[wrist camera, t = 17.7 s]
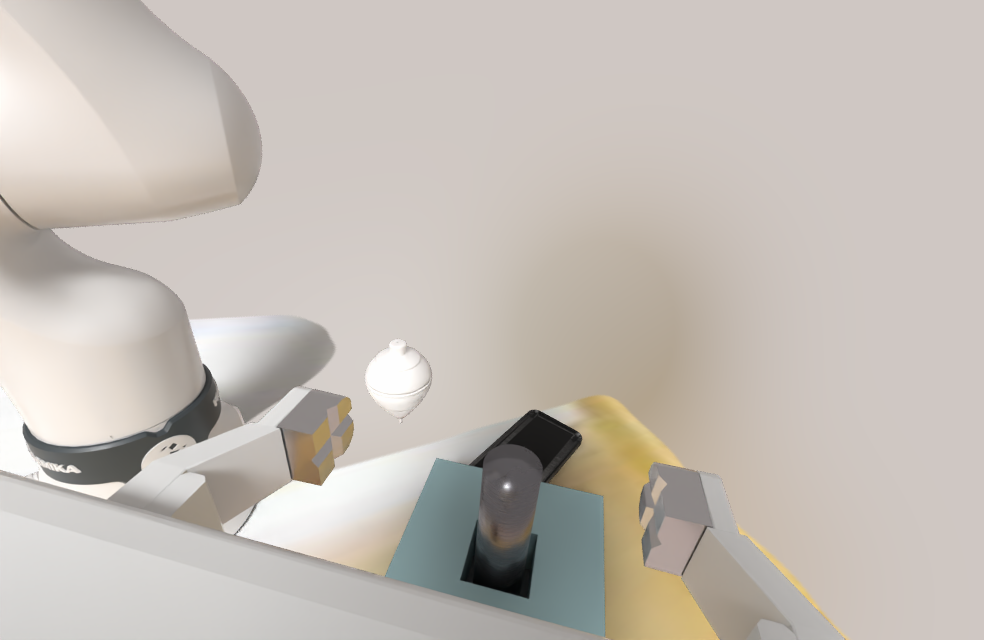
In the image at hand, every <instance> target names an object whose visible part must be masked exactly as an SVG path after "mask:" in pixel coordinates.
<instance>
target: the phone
mask: <svg viewBox="0 0 984 640" xmlns="http://www.w3.org/2000/svg"><path fill="white" fill-rule="evenodd" d="M581 441H582V436H581V434H580V433H579V432H577V431H576V430H574V429H572V428H570V427H568V426H567V425H565V424H563V423H561V422H559V421H557V420H556V419H554V418H552V417H550V416H548V415H546V414H545V413H543V412H541V411H539V410H531V411H529V412H528V413H526V414H525V415H524V416H523V417H522V418H521V419H520V420H519V421H518V422H516V423H515V424H514V425H513V426H512V427H511V428H510V429H509V430H507V431H506V432H505V433H504V434H503V435H502V436H501V437H500V438H499V439H497V440H496V441H495V442H494V443H493V444H492V445H491V446H490V447H489V448H487V449H486V450H485V451H484V452H483V453H482V454H481V455H480V456H479V457H477V458H476V459H475V460H474V461H473V462H472V463H471V464H470V465H469V466H474V467H478V468H482V469H483V462H484V458H485V456H486V455H487V454H488V452H489V451H491V450H492V449H493V448H495V447H498V446H501V445H506V444H512V445H519V446H522V447H525V448H527V449H529V450H530V451H532V452H533V453H534V454H535V455H536V456H537V457H538V458H539V460H540V462H541V464H542V468H543V473H542V479H541V482H544V483H549V481H550V480H551V479H552V478H553V477H554V475H555V474H556V473H557V472H558V471H559V469H560V468H561V467H562V466H563V465H564V464H565V462H566V461H567V460H568V459H569V458H570V456H571V455H572V454H573V453H574V452H575V451H576V449H577V448H578V447H579V446H580V444H581Z"/></svg>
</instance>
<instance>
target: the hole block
mask: <svg viewBox="0 0 984 640" xmlns="http://www.w3.org/2000/svg"><path fill="white" fill-rule="evenodd" d="M482 471H483V469H482V468H478V467H474V466H469V465H465V464H461V463H456V462H452V461H448V460H443V459H439V458H436V461H435V463H434V465H433V467H432V470H431V472H430V474H429V477H428V479H427V481H426V483H425V486H424V488H423V490H422V493H421V495H420V497H419V499H418V502H417V504H416V506H415V509H414V511H413V513H412V515H411V518H410V520H409V522H408V525H407V527H406V529H405V531H404V534H403V536H402V538H401V541H400V543H399V545H398V547H397V550H396V552H395V554H394V557H393V559H392V561H391V563H390V566H389V568H388V570H387V573H386V575H385V577H388V578H392V579H395V580H399V581H402V582H406V583H410V584H413V585H417V586H421V587H424V588H428V589H431V590H435V591H439V592H442V593H446V594H449V595H453V596H457V597H460V598H464V599H467V600H471V601H475V602H478V603H482V604H486V605H489V606H493V607H496V608H500V609H504V610H507V611H511V612H515V613H518V614H522V615H526V616H529V617H533V618H536V619H540V620H544V621H547V622H551V623H555V624H558V625H562V626H565V627H569V628H573V629H576V630H580V631H584V632H587V633H591V634H594V635H598V636H602V637H605V591H604V513H603V496H600V495H596V494H592V493H587V492H583V491H578V490H574V489H570V488H565V487H561V486H557V485H552V484H548V483H544V482H541V484H540V489H539V495H538V500H537V505H536V511H535V516H534V521H533V527H532V532H531V537H530V542H529V548H528V553H527V558H526V564H525V569H524V574H523V580H522V585H521V590H520V596H516V595H513V594H509V593H505V592H502V591H498V590H494V589H491V588H487V587H483V586H479V585H476V584H472V582H473V571H474V560H475V549H476V538H477V526H478V515H479V504H480V493H481V482H482Z"/></svg>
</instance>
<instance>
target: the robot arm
mask: <svg viewBox="0 0 984 640" xmlns="http://www.w3.org/2000/svg"><path fill="white" fill-rule="evenodd" d="M261 160H262V141H261V135H260V131H259V126H258V124H257V121H256V118H255V115H254V113H253V111H252V109H251V106H250V105H249V103H248V101H247V99H246V98H245V96H244V94H243V93H242V92H241V90H240V89H239V87H238V86H237V85H236V83H235V82H234V81H233V80H232V79H231V78H230V76H229V75H228V74H227V73H226V72H225V71H224V70H223V69H222V68H221V67H220V66H218V65H217V64H216V63H215V62H213V60H211V59H210V58H209V57H208V56H206V55H205V54H203V53H202V52H200V51H199V50H197V49H196V48H194V47H193V46H191V45H190V44H189V43H188V42H186V41H185V40H184V39H182V38H181V37H180V36H179V35H177V34H176V33H175V32H174V31H172V30H171V29H170V28H169V27H168V26H167V25H166V24H165V23H163V22H162V21H161V20H160V19H159V18H158V17H157V16H156V15H154V14H153V13H152V12H151V11H150V10H149V9H148V8H147V7H146V6H145V5H144V3H143V2H142V1H141V0H0V386H1V388H2V389H3V390H4V392H5V393H6V395H7V396H8V397H9V399H10V400H11V402H12V403H13V405H14V406H15V408H16V409H17V411H18V413H19V414H20V416H21V417H22V419H23V421H24V424H23V435H24V438H25V440H26V443H27V444H26V445H27V448H28V450H29V452H30V454H31V456H32V457H33V459H34V460H35V461H36V462H38V464H39V471H38V472H35V473H34V474H33V473H32V474H30V475H27V476H25V477H23V476H20V475H16V474H12V473H9V472H5V471H2V470H0V640H613V639H609V638H605V637H602V636H598V635H594V634H591V633H587V632H584V631H580V630H576V629H573V628H569V627H565V626H562V625H558V624H555V623H551V622H547V621H544V620H540V619H536V618H533V617H529V616H526V615H522V614H518V613H515V612H511V611H507V610H504V609H500V608H496V607H493V606H489V605H486V604H482V603H478V602H475V601H471V600H467V599H464V598H460V597H457V596H453V595H449V594H446V593H442V592H439V591H435V590H431V589H428V588H424V587H421V586H417V585H413V584H410V583H406V582H402V581H399V580H395V579H392V578H388V577H384V576H381V575H377V574H374V573H370V572H366V571H363V570H359V569H356V568H352V567H348V566H345V565H341V564H338V563H334V562H330V561H327V560H323V559H319V558H316V557H312V556H309V555H305V554H301V553H298V552H294V551H291V550H287V549H283V548H280V547H276V546H273V545H269V544H265V543H262V542H258V541H254V540H251V539H247V538H244V537H240V536H236V535H234V534H235V533H236V532H237V531H238V529H239V528H240V527H241V526H242V525H243V523H244V522H245V521H246V519H247V518H248V516H249V515H250V513H251V511H252V509H253V507H254V505H255V504H256V503H258V502H259V501H261V500H263V499H264V498H266V497H267V496H269V495H270V494H272V493H274V492H275V491H277V490H278V489H280V488H282V487H283V486H285V485H286V484H288V483H289V482H291V481H292V480H297V481H302V482H306V483H311V484H315V485H320V486H321V485H322V484H323V483H324V481H325V480H326V478H327V477H328V476H329V474H330V473H331V471H332V470H333V468H334V467H335V464H334V459H335V458H337V457H339V456H341V455H343V454H344V453H345V451H346V450H347V448H348V447H349V444H350V442H351V439H352V436H353V430H354V425H353V420H352V419H351V417H350V416H349V415H348V413H349V411H350V410H351V409H352V407H351V400H350V399H349V398H348V397H345V396H341V395H337V394H332V393H328V392H324V391H320V390H316V389H315V390H314V389H310V388H306V387H302V386H297V387H294V388H293V389H292V390H291V391H290V392H288V393H287V394H286V395H285V396H284V397H283V398H282V399H281V400H280V401H279V402H278V403H277V404H276V405H275V406H274V407H273V408H272V409H271V410H270V411H269V412H268V413H267V414H266V415H265V416H264V417H263V418H262V419H261V420H260V421H259V422H258V423H254V422H251V423H248V424H246V425H245V423H244V420H243V417H242V415H241V412H240V410H239V409H238V408H237V407H236V406H231V405H230V404H228V403H226V402H223V401H220V398H219V390H218V387H217V384H216V382H215V380H214V378H213V377H212V375H211V372H210V370H209V369H208V368H207V366H205V365H204V364H202V361H201V358H200V355H199V351H198V348H197V345H196V342H195V338H194V335H193V332H192V329H191V326H190V322H189V319H188V316H187V313H186V309H185V306H184V304H183V302H182V301H181V300H180V298H179V297H178V296H177V295H176V294H175V293H174V292H173V291H172V290H171V289H170V288H168V287H167V286H166V285H164V284H163V283H161V282H160V281H158V280H157V279H155V278H153V277H152V276H150V275H147V274H145V273H143V272H140V271H137V270H133V269H130V268H126V267H122V266H118V265H114V264H110V263H106V262H102V261H100V260H97V259H94V258H92V257H89V256H87V255H85V254H83V253H81V252H80V251H78V250H76V249H74V248H73V247H71V246H70V245H68V244H67V243H65V242H64V241H63V240H61V239H60V238H59V237H58V236H57V235H55V233H54V232H53V231H52V230H51V229H55V228H70V227H86V226H102V225H119V224H135V223H150V222H166V221H174V220H178V219H183V218H187V217H192V216H196V215H200V214H205V213H209V212H213V211H217V210H220V209H225V208H228V207H232V206H236V205H239V204H241V203H242V202H243V201H244V199H245V198H246V197H247V196H248V194H249V193H250V191H251V190H252V188H253V186H254V184H255V183H256V180H257V177H258V175H259V171H260V167H261ZM291 479H292V480H291ZM649 481H650V482H649V483H647V484H645V485H644V487H643V490H642V493H641V497H640V504H639V519H640V524H641V526H642V527H643V528H644V530H645V532H644V535H643V538H642V550H643V559H644V566H645V567H649V568H653V569H656V570H660V571H664V572H667V573H671V574H674V575H678V576H682V577H681V579H682V580H683V582H684V584H685V585H686V587H687V588H688V590H689V592H690V593H691V595H692V596H693V598H694V600H695V601H696V603H697V604H698V606H699V607H700V609H701V611H702V612H703V614H704V615H705V617H706V619H707V620H708V622H709V623H710V625H711V627H712V628H713V630H714V631H715V633H716V634H717V636H718V638H719V639H720V640H845V638H844V637H843V636H842V635H841V634H840V633H839V632H838V631H837V630H836V629H835V628H834V627H833V626H832V625H831V624H830V623H829V622H828V621H827V620H826V619H825V618H824V616H823V615H822V614H821V613H820V612H819V611H818V610H817V609H816V608H815V607H814V606H813V605H812V604H811V603H810V602H809V601H808V600H807V599H806V598H805V597H804V596H803V595H802V594H801V592H800V591H799V590H798V589H797V588H796V587H795V586H794V585H793V584H792V583H791V582H790V581H789V580H788V579H787V578H786V577H785V576H784V575H783V574H782V573H781V572H780V571H779V570H778V568H777V567H776V566H775V565H774V564H773V563H772V562H771V561H770V560H769V559H768V558H767V557H766V556H765V555H764V554H763V553H762V552H761V551H760V550H759V549H758V548H757V547H756V546H755V544H754V543H753V542H752V541H751V540H750V539H749V538H748V537H747V536H744V535H740V534H739V531H738V528H737V525H736V522H735V519H734V516H733V513H732V510H731V506H730V503H729V500H728V497H727V494H726V491H725V488H724V485H723V482H722V479H721V478H720V477H719V475H716V474H711V473H706V472H701V471H694V470H690V469H686V468H681V467H676V466H671V465H666V464H661V463H656V462H654V463H653V464H652V465H651V468H650V470H649Z"/></svg>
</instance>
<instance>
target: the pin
mask: <svg viewBox="0 0 984 640" xmlns="http://www.w3.org/2000/svg"><path fill="white" fill-rule="evenodd" d="M542 473H543V468H542V464H541V462H540V460H539V458H538V457H537V456H536V455H535V454H534V453H533V452H532V451H530V450H529V449H527V448H525V447H522V446H519V445H512V444H506V445H501V446H498V447H495V448H493V449H492V450H491V451H489V452H488V454H487V455H486V456H485V458H484V462H483V471H482V482H481V493H480V504H479V515H478V526H477V538H476V549H475V560H474V571H473V582H472V584H476V585H479V586H483V587H487V588H491V589H494V590H498V591H502V592H505V593H509V594H513V595H516V596H520V590H521V585H522V580H523V574H524V569H525V564H526V558H527V553H528V548H529V542H530V537H531V532H532V527H533V521H534V516H535V511H536V505H537V500H538V495H539V489H540V484H541V479H542Z"/></svg>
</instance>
